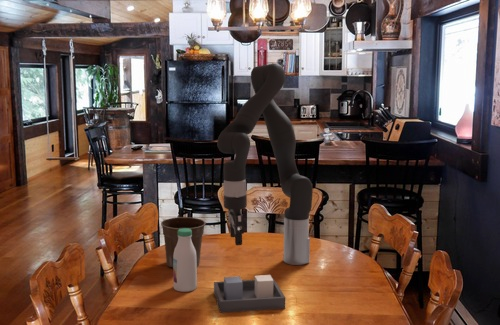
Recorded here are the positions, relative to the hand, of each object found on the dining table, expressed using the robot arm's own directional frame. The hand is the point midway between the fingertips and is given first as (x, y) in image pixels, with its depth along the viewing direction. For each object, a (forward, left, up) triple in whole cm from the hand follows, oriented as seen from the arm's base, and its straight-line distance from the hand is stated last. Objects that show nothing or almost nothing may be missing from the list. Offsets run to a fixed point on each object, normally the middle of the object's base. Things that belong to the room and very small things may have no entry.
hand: (236, 240), depth 189 cm
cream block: (-7, +12, -15) cm, 20 cm away
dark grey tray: (-2, +12, -16) cm, 20 cm away
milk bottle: (+17, -1, -16) cm, 23 cm away
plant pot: (+16, -24, -16) cm, 33 cm away
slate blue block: (+3, +11, -15) cm, 19 cm away
